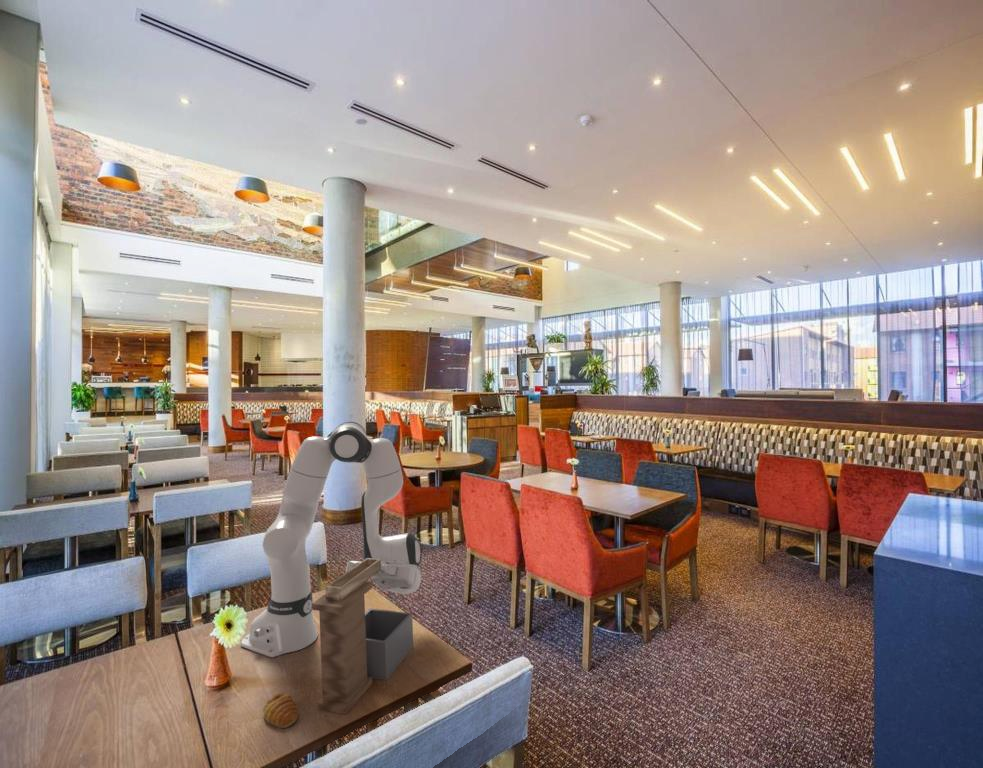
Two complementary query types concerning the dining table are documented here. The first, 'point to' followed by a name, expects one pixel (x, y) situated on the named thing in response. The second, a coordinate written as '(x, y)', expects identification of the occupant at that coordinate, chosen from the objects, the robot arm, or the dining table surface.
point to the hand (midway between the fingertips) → (368, 567)
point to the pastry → (281, 711)
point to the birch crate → (353, 579)
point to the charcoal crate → (387, 641)
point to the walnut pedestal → (343, 650)
